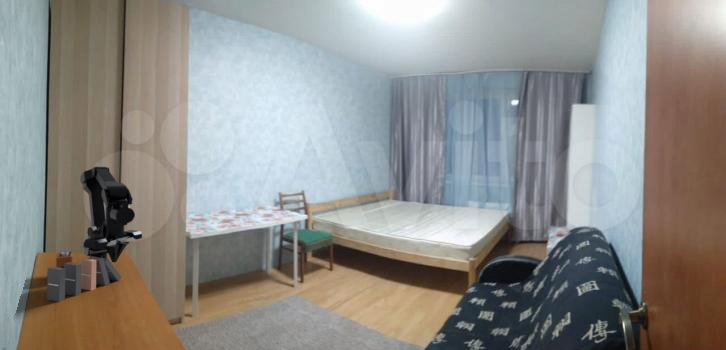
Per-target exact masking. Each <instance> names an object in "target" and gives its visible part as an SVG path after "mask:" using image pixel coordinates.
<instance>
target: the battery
mask: <svg viewBox="0 0 726 350" xmlns="http://www.w3.org/2000/svg"><path fill="white" fill-rule="evenodd" d="M55 259H56V260H55V261H56V263H55V265H56V266H55V267H60V268H64V263H68V262H71V263H74V252H73V251H69V250H62V252H58V254H57V256H56V258H55Z"/></svg>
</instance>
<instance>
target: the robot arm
mask: <svg viewBox="0 0 726 350" xmlns="http://www.w3.org/2000/svg"><path fill="white" fill-rule="evenodd" d="M80 184H82V189H83V190H84V191H85V192H86V193H87V194H88V200H89V201H88V202H89V209H90V210H89V212H90V223H91V226H90V227H88V228H87V235H88V236H87V238H86V239H85V240H84V241H83V254H84V255H85V256H87V257H89V258H90V257H92V256H93V257H100V258H105V259H109V258H110V260H111V261H110V262H111V263H116V262H117V261H118V260H119V258H120V256H121V255H122V253H123V252H124V250H125V249H126V247H127V246H128V245H129V244H130V241H127V240H128V239H132V238H133V239H134V240H135V241H137V240H140V239H143V233H142V231H141V230H135V229H134V230H133V229H130V230H129V229H128V230H125V226H128V224H129V223H132V221H133V220H134V219H135V217H136V216H135V215H136V214H135V211H134V209H132V208H131V207H129V205H133V197H132V194H131V191H130V189H129V188H128V186H127V185H126V184H124V183H123V182H119V181H118V180H116V179H115V177H114V175H113V174H112V173H111V171H110V167H107V166H93V167H92V168H90V169H88V170H85V171H83V172H82V173H81V174H80ZM108 257H109V258H108Z"/></svg>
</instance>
